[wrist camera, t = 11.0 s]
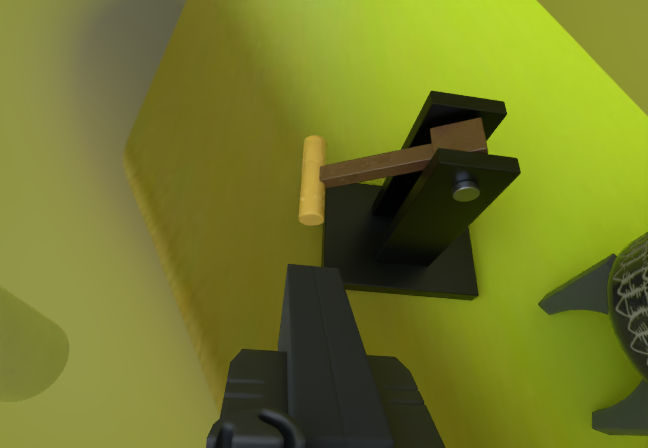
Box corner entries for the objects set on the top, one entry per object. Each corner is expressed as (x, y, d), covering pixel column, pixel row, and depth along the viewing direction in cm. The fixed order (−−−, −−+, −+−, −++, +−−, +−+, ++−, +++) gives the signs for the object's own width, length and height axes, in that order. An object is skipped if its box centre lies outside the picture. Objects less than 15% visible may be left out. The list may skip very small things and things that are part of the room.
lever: (307, 230, 27) (291, 212, 25) (311, 155, 30) (297, 133, 28) (494, 202, 23) (493, 178, 21) (479, 119, 26) (476, 91, 24)
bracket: (320, 287, 32) (366, 187, 20) (324, 187, 36) (363, 54, 24) (471, 300, 33) (599, 215, 21) (457, 202, 38) (558, 85, 26)
